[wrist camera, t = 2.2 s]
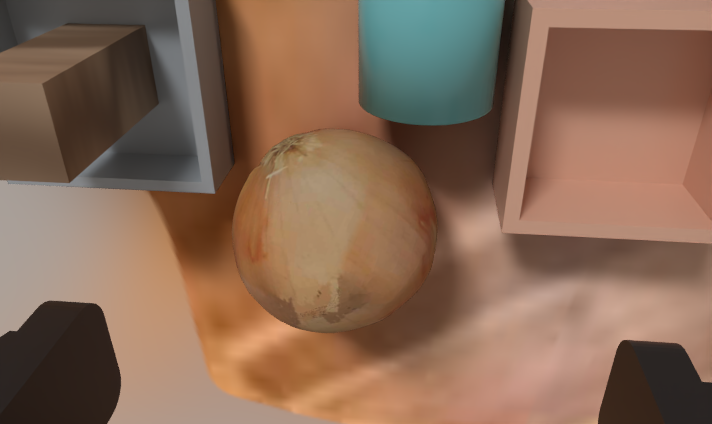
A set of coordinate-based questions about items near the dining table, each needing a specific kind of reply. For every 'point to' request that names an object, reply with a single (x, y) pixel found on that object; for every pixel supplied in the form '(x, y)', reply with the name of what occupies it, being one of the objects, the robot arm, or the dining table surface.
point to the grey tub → (173, 84)
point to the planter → (607, 120)
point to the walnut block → (71, 98)
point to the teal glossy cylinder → (428, 59)
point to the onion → (334, 230)
